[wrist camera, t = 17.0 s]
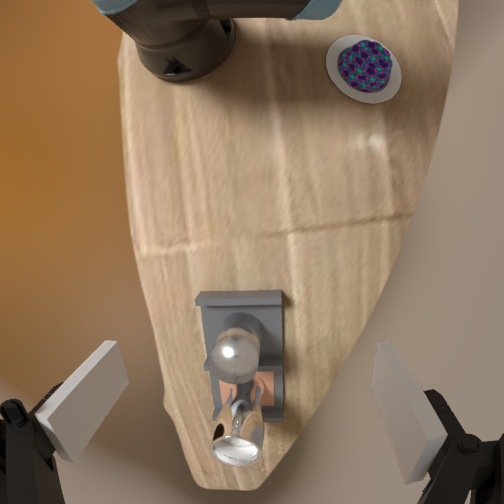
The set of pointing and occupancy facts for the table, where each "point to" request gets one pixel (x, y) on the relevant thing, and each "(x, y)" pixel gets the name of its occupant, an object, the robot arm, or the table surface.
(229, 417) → the beer glass
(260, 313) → the slot rack
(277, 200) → the table surface
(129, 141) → the table surface
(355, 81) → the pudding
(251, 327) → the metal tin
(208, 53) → the robot arm
